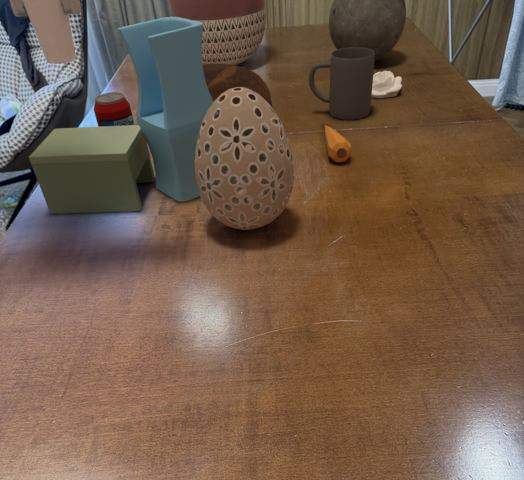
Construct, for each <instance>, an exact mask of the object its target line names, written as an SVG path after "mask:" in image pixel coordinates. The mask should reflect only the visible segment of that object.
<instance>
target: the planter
mask: <svg viewBox="0 0 524 480" xmlns="http://www.w3.org/2000/svg"><path fill="white" fill-rule="evenodd" d="M167 3H168V8H169V14H170V17H180V18H184V19H189V20H194V21H198V22H202V23H203V34H202V65H204V64H228V65H235V66H238V65H240V64H242V63H244V62H246V61H247V60H248V59H249V58H251V56H253V54H255V52H256V51H257V50H258V48H259V47H260V45H261V43H262V42H263V39H264V36H265V31H266V24H267V0H167Z"/></svg>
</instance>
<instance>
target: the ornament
mask: <svg viewBox="0 0 524 480" xmlns="http://www.w3.org/2000/svg"><path fill="white" fill-rule="evenodd" d="M236 88H241V90H235V89H236ZM222 97H225V99H224V100H223V101H221V102H219V100H220V99H221V98H222ZM217 110H220V112H219V113H218V114H215V112H216V111H217ZM255 113H256V114H257V115H256V114H255ZM273 120H274V122H273ZM202 125H203V127H202ZM202 125H201V128H200V131H199V134H198V139H197V144H196V150H195V176H196V182H197V187H198V191H199V193H200V196H199V197H200V198H201V201H202V203H203V205H204V206H205V208H206V210H207V211H208V212H209V213H210V214H211V216H213V218H214V219H216V220H217V221H219V222H220V223H222V224H223V225H225V226H227V227H230V228H231V229H236V230H243V231H244V230H245V231H247V230H254V229H259V228H262V227H265V226H267V225H268V224H271V223H272V222H274V220H276V219H277V218H278V217H279V216H280V215H281V214H282V213H283V211H284V209H285V208H286V206H287V204H288V203H289V200H290V198H291V195H292V191H293V188H294V181H295V180H294V179H295V167H294V166H295V165H294V164H295V163H294V157H293V151H292V147H291V144H290V139H289V137H288V134H287V132H286V129H285V128H284V125H283V123H282V120H281V119H280V118H279V116H278V115H277V113H276V111H275V110H274V108H273V107H272V106H271V104H269V103H268V102H267V101H266V100H265V99H264V98H263V97H261V96H260V95H259V94H257V93H256V92H254V91H252V90H250V89H248V88H244V87H235V88H231V89H228V90H227V91H225V92H224V93H222V94H221V95H220V96H219V97H218V98H217V99H216V100H215V101H214V102H213V104H212V105H211V107H210V108H209V110H208V111H207V113H206V115H205V117H204V119H203V122H202ZM265 126H266V127H265ZM281 130H282V131H281ZM268 143H270V145H271V146H269V145H268ZM226 144H228V146H226V147H225V148H224V146H225V145H226ZM247 145H250V146H251V149H250V148H247V147H246V146H247ZM281 147H282V148H283V150H282V149H280V148H281ZM199 148H200V149H199ZM208 148H210V150H209V152H208V151H207V149H208ZM214 156H215V159H214V161H213V160H212V158H213V157H214ZM271 171H272V172H273V173H272V174H273V175H271ZM199 173H200V174H199ZM202 176H203V177H204V180H205V182H204V181H203V180H202ZM260 179H261V180H260ZM259 180H260V181H259ZM212 183H213V185H212ZM219 183H220V184H219ZM209 184H210V185H211V186H210V185H209ZM242 190H244V192H243V193H242V194H239V192H240V191H242ZM249 198H250V200H249Z"/></svg>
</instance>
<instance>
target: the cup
mask: <svg viewBox="0 0 524 480" xmlns="http://www.w3.org/2000/svg"><path fill="white" fill-rule="evenodd" d="M22 1H23V4H24V6H25V9H26V11H27V14H28V16H27V17H28V19H29V21H30V24H31V27H32V29H33V31H34V32H35V36H36V38H37V41H38V43H39V46H40V48H41V50H42V53H43V55H44V57H45V60H46V62H47V64H50V65H51V64H53V65H58V64H59V65H60V64H67V63H70V62H73V61H75V60H76V59H77V56H76V49H75V44H74V37H73V32H72V27H71V22H70V21H71V20H70V16H69V15H70V14H69V15H66V14H65V13H64V10H63V7H64V6H63V5H62V3H61V0H22Z"/></svg>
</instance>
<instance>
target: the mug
mask: <svg viewBox="0 0 524 480" xmlns="http://www.w3.org/2000/svg"><path fill="white" fill-rule="evenodd" d="M318 69H329V96H326V95H324V94H323V93H321V91H320V90H319V89H318V88H317V87H316V85H315V74H316V71H317V70H318ZM374 71H375V61H374V51H373V50H371V49H369V48H363V47H348V48H341V49H334V50H333V51H332V52H331V54H330V61H325V62H324V61H322V62H317V63H314V64H313V65H312V66H311V67H310V70H309V73H308V85H309V88H310V90H311V92H312V94H313V95H314V96H315V97H316V98H317V99H318V100H319V101H322V102H324V103H327V104H328V105H329V106H328V110H329V114H330V116H331V117H333V118H334V119H336V120H344V121H353V120H360V119H363V118H366V117H367V116H368V115H369V114H370V111H371V104H372V97H371V96H372V85H373V75H374Z"/></svg>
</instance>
